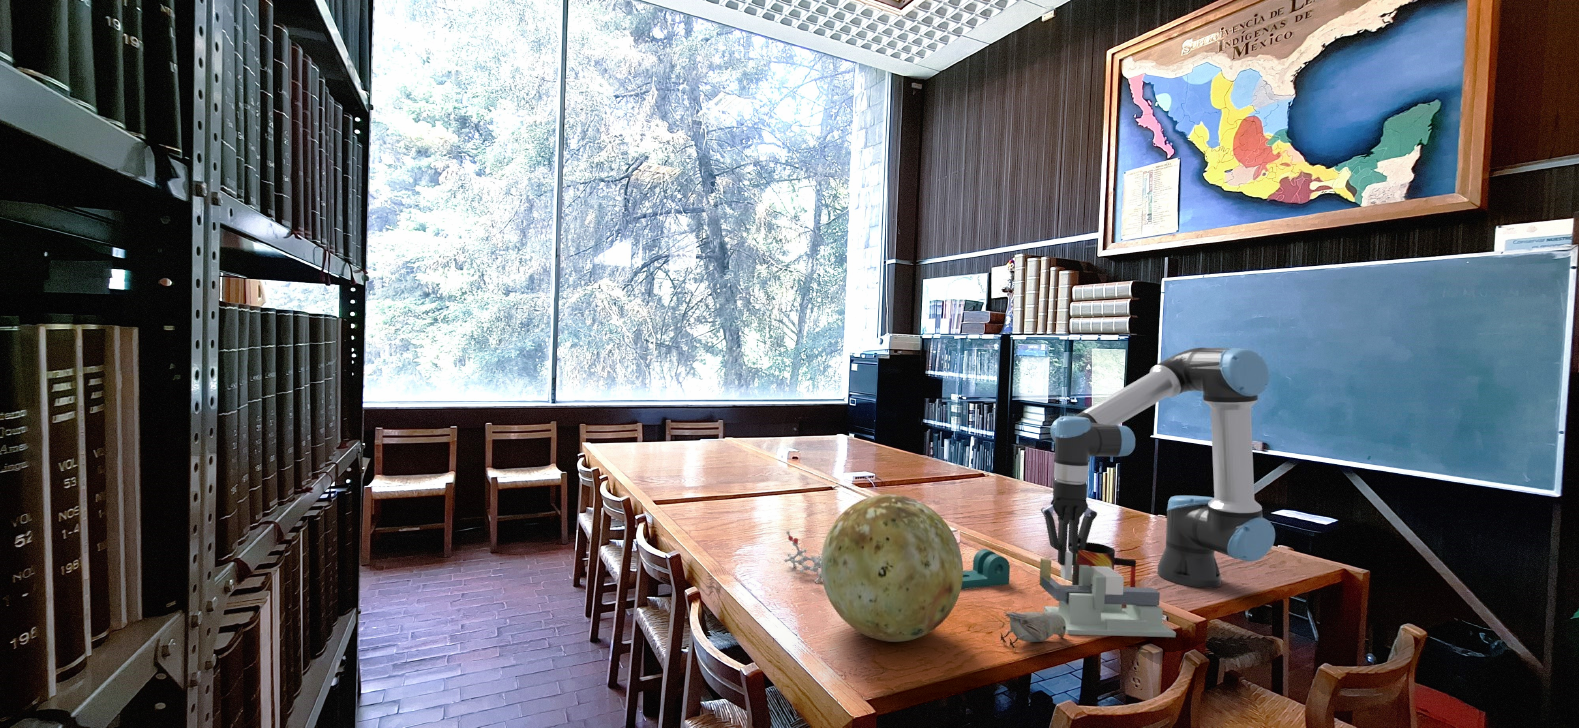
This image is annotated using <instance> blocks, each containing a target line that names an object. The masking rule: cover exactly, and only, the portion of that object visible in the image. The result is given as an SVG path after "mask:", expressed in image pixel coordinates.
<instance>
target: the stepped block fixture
mask: <svg viewBox="0 0 1579 728" xmlns="http://www.w3.org/2000/svg"><path fill="white" fill-rule="evenodd" d="M1068 585H1069V586H1091V567H1090V566H1088V565H1079V585H1072V584H1068ZM1104 600H1105V577H1104V576H1102V575H1093V581H1092V594H1089V593H1069V603H1065V602H1064V601H1058V606H1047V605H1046V606H1043V611H1044V613H1047V612H1056V613H1058V614H1060V615H1061V616H1062V617H1063V618H1064V620H1065V624H1066V631H1065V634H1067V635H1077V636H1078V635H1079V636H1112V637H1113V636H1118V637H1119V636H1123V637H1154V638H1155V637H1157V638H1159V637H1160V638H1176V635H1177V632H1176V631H1174V630H1173V629H1172V628H1170V627H1169V626H1168V625H1166V624H1165V623H1164V622H1163V613H1164V609H1163V608H1161V607H1160V605H1159V606H1156V605H1126V607H1125V608H1123V605H1118V604H1104Z"/></svg>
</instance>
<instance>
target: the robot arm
mask: <svg viewBox="0 0 1579 728" xmlns="http://www.w3.org/2000/svg"><path fill="white" fill-rule="evenodd" d="M1269 381H1270V372H1269V368H1268V365H1267V363H1266V361H1265V359H1264V358H1263V357H1262V356H1260V355H1259V353H1258V352H1256V351H1254V350H1252V349H1250V348H1249V349H1247V348H1239V347H1194V348H1190V349H1187V350H1183V351H1182V352H1179V353H1177V354H1175V355H1172V356H1170V357H1168V358H1166V359H1164V360H1163V361H1161V362H1159V363H1157V364H1155V365H1154V366H1152V367H1151V368H1150V370H1149V373H1147V374H1146V375H1143V376H1142V377H1140V378H1138V379H1137V380H1136V381H1133V382H1132V383H1130V384H1128V385H1126V386H1125V387H1123V388H1121V389H1119V390H1118V391H1116V392H1114V393H1113V394H1111V395H1109V396H1107V397H1106V398H1104V399H1101V400H1100V401H1099V402H1097V403H1096V404H1093V405H1092V406H1089V407H1088V408H1086V409H1085V410H1083V411H1081V412H1080V413H1078V414H1076V415H1074V416H1071V415H1070V416H1069V415H1063V416H1059V417H1058V418H1057V419H1055V420H1054V421H1053V423H1051V424H1052V425H1051V426H1050V430H1049V431H1050V436H1051V439H1052V440H1053V442H1054V461H1053V462H1054V466H1053V467H1054V468H1053V478H1054V481H1053V482H1052V483H1053V485H1052V486H1053V488H1052V500H1051V501H1050V505H1048V506H1047V507H1042V508H1041V509H1040V511H1041V513H1042V515H1043V517H1044V520H1045V525H1046V530H1047V534H1048V535H1047V536H1048V541H1049V545H1050V546H1051V548H1053V549H1055V550H1057V563H1058V564H1059V565H1060V575H1059V576H1060V577H1061V578H1062V579H1063V580H1065V581H1072V576H1073V565H1075V564H1076V554H1077V553H1078V552H1079V550H1084V549H1085V546H1086V543H1087V542H1088V539H1089V535H1090V531H1091V529H1092V525H1093V522H1094V520H1095V519H1096V517H1097V516H1098V512H1097V511H1095V510H1093V509H1091V508H1090V507H1089V504H1088V502H1087V497H1088V484H1087V482H1088V481H1089V480H1088V478H1089V463H1090V462H1089V461H1090V457H1115V458H1117V457H1118V458H1119V457H1126V456H1129V455H1131V453H1133V451H1134V450H1135V447H1136V437H1135V434H1134V431H1132V429H1131V428H1130V427H1128V426H1127V425H1120V424H1122V423H1124V422H1126V421H1128V420H1129V419H1131V418H1133V417H1134V416H1136V415H1138V414H1139V413H1141V412H1143V411H1145V410H1146V409H1148V408H1150V407H1151V406H1154V405H1155V404H1157V403H1158V402H1160V401H1162V400H1163V399H1165V398H1167V397H1169V398H1175V397H1177V396H1178V395H1180V394H1183V393H1186V392H1194V391H1195V392H1198V391H1199V392H1202V400H1203V403H1205V404H1206V405H1207V406H1209V407H1210V423H1211V424H1210V425H1211V448H1212V468H1213V471H1212V472H1213V492H1214V493H1213V496H1214V497H1211V496H1200V495H1174V496H1170V498H1169V500H1168V501H1167V503H1168V504H1167V508H1166V528H1165V529H1166V534H1165V535H1166V536H1165V537H1166V538H1165V539H1166V541H1165V549H1164V550H1163V553H1162V555H1161V557H1160V559H1159V562H1158V563H1157V575H1158V576H1159V577H1161V578H1163V579H1165V580H1167V581H1169V582H1172V583H1174V584H1180V585H1184V586H1187V587H1188V586H1189V587H1193V588H1203V589H1208V588H1210V589H1211V588H1217V587H1220V586H1221V582H1222V577H1221V573H1220V568H1219V565H1218V563H1217V559H1216V556H1215V553H1216V552H1217V553H1220V554H1222V555H1225V556H1228V557H1230V558H1232V559H1234V560H1240V561H1244V562H1248V563H1249V562H1256V561H1260V560H1262V559H1263V558H1264V557H1265V556H1267V554H1268V553H1269V552H1270V551H1271V549H1272V548H1273V546H1274V543H1275V539H1276V531H1275V528H1274V525H1272V523H1271V522H1270V521H1269V520H1268V519H1266V518H1264V517H1263V508H1262V507H1263V506H1262V505H1261V504H1260V503H1258V502H1257V501H1256V500H1255V484H1254V483H1255V482H1254V481H1255V480H1254V458H1253V457H1254V456H1253V433H1252V431H1253V429H1252V407H1253V406H1254V405H1255V404H1257V402H1258V401H1259V395H1261V394H1262V393H1263V392H1264V391H1265V390H1266V388H1267V387H1266V386H1268V384H1269ZM1054 513H1055V514H1056V516H1057V522H1058V526H1057V529H1056V523H1055V518H1054ZM1082 516H1083V518H1082V520H1080V518H1081V517H1082ZM1080 521H1081V522H1080ZM1080 523H1081V524H1080ZM1079 525H1080V528H1079Z"/></svg>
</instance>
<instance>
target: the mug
mask: <svg viewBox="0 0 1579 728" xmlns="http://www.w3.org/2000/svg"><path fill="white" fill-rule="evenodd" d="M1136 564H1137V561H1136V559H1131V558H1130V559H1129V558H1121V557H1116V550H1115V549H1114V548H1113V547H1111V546H1108V545H1105V544H1103V543H1097V542H1088V541H1087V543H1086V546H1085V549H1084V550H1079V552H1078V553H1077V554H1076V564H1075V565H1072V579H1071V585H1079V565H1088V566H1090V567H1091V566H1102V567H1110V568H1111V569H1112V570H1114V571H1115V566H1124V567H1130V578H1129V587H1136ZM1091 586H1092V584H1091Z"/></svg>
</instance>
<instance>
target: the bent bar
mask: <svg viewBox="0 0 1579 728" xmlns="http://www.w3.org/2000/svg"><path fill="white" fill-rule="evenodd" d="M1039 563H1040V564H1039V565H1040V567H1039V586H1040V587H1041V588H1042V589H1044V591H1046V592H1047V593H1048V594H1049V595H1050V596H1051V597H1052V598H1053V599H1054V600H1055V601H1057V602H1059V601H1064V602H1065V603H1069V593H1089V594H1092V586H1069V585H1070V584H1060V583H1058V582H1057V581H1056V580H1055V579H1054V578H1053V577H1052V560H1051V558H1049V557H1047V558H1046V557H1040V562H1039ZM1160 594H1161V593H1160V592H1159V590H1157V589H1155V588H1153V587H1141V586H1139V587H1138V586H1135V587H1130V586H1123V595H1112V594H1105V600H1104V604H1118V605H1122V606H1127V605H1156V606H1159V607H1160V600H1161V599H1160V597H1161V595H1160Z"/></svg>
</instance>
